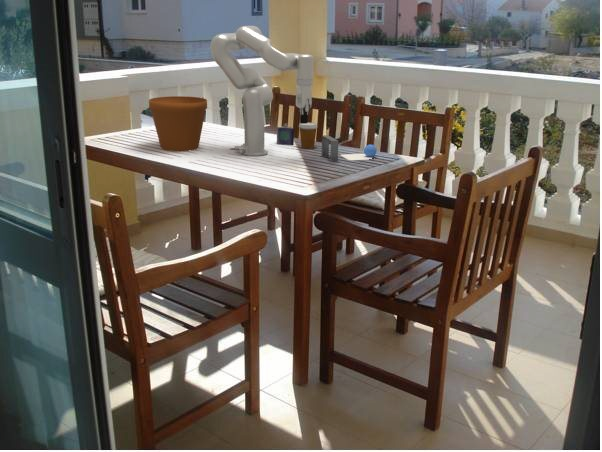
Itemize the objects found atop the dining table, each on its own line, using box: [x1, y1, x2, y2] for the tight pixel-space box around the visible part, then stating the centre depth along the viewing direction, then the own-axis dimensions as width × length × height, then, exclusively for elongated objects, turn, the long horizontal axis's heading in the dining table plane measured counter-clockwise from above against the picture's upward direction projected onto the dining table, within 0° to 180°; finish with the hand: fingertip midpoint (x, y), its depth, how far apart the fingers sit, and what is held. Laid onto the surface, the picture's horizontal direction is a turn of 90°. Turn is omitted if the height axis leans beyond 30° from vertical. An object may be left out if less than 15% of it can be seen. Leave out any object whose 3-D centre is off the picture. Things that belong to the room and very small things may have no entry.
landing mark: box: [339, 153, 373, 162], centre depth 331 cm, size 13×13×1 cm
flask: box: [276, 123, 295, 146], centre depth 357 cm, size 9×3×11 cm, turn 71°
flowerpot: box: [148, 95, 208, 152], centre depth 342 cm, size 28×28×24 cm
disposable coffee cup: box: [298, 121, 318, 149], centre depth 350 cm, size 10×10×12 cm
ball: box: [363, 143, 377, 158], centre depth 331 cm, size 6×6×6 cm
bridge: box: [320, 134, 339, 163], centre depth 326 cm, size 3×15×10 cm, turn 17°
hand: (303, 123), depth 318 cm, fingers closed
